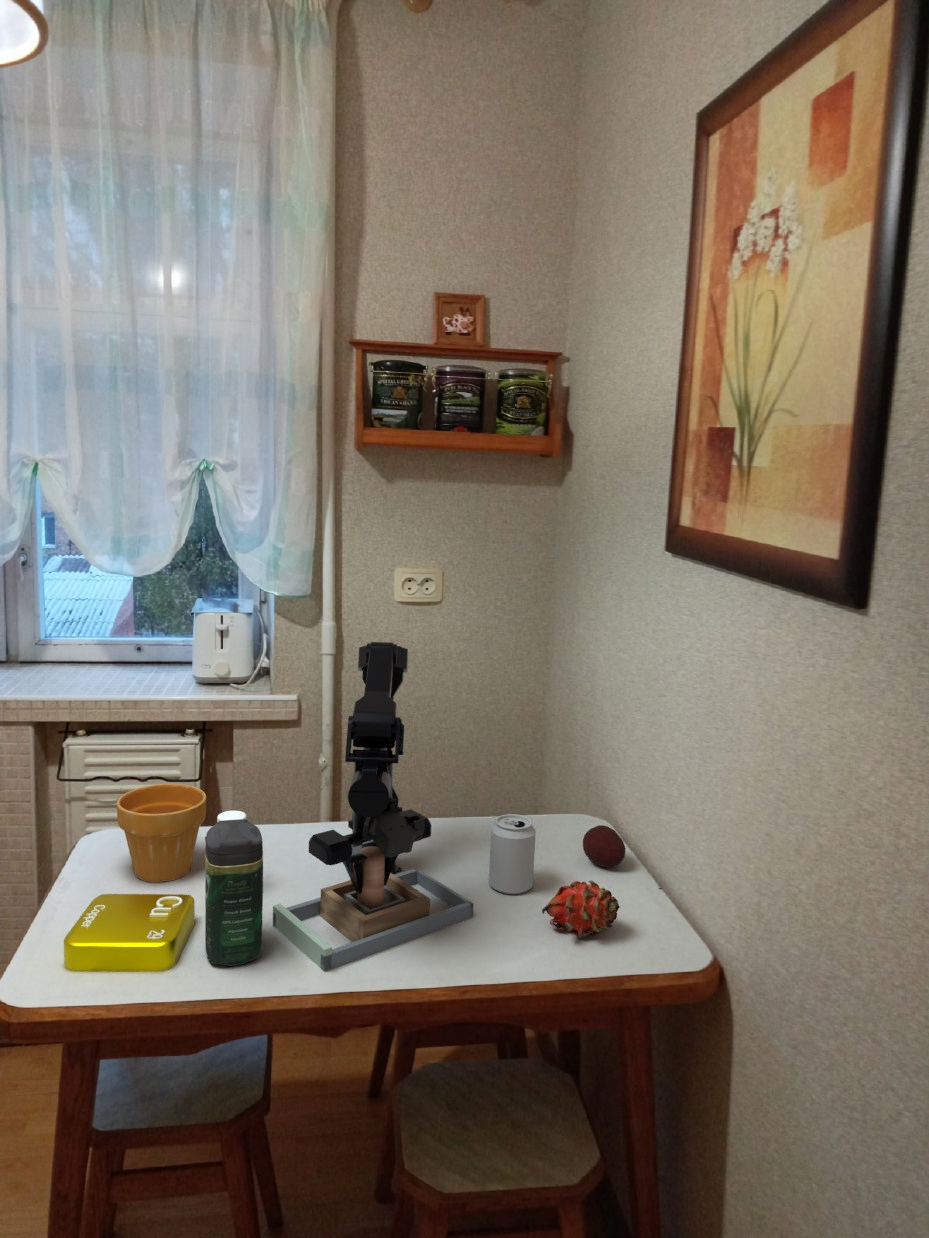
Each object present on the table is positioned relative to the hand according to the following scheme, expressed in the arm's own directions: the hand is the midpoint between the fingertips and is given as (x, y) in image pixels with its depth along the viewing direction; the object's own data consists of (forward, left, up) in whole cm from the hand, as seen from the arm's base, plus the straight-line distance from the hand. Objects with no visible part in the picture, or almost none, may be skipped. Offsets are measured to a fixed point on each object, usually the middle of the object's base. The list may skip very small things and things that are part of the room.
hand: (370, 888), depth 135 cm
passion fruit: (+6, +46, -6) cm, 47 cm away
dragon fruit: (+20, +25, -6) cm, 33 cm away
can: (+3, +26, -6) cm, 27 cm away
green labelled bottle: (-5, -20, -6) cm, 21 cm away
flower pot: (-35, -19, -6) cm, 40 cm away
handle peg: (0, 0, -4) cm, 4 cm away
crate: (0, +1, -6) cm, 6 cm away
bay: (0, +1, -6) cm, 6 cm away
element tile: (-15, -31, -6) cm, 35 cm away
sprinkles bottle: (-21, -13, -6) cm, 25 cm away
